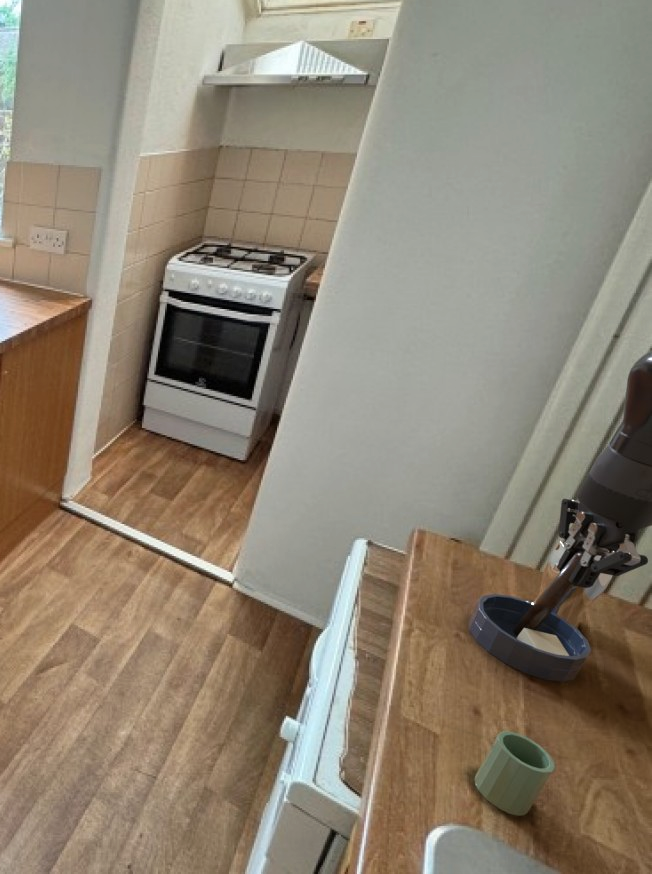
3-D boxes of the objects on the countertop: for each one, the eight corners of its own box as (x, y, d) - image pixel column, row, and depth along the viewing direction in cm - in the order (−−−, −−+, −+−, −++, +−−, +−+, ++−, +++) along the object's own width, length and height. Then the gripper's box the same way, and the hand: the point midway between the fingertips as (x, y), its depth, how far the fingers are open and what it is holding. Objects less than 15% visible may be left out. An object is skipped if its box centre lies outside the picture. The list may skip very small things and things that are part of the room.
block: (543, 651, 94) (556, 635, 93) (557, 674, 91) (571, 658, 89) (511, 643, 96) (523, 627, 94) (524, 666, 92) (537, 649, 90)
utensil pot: (512, 783, 77) (539, 738, 74) (536, 824, 73) (565, 778, 70) (465, 770, 79) (489, 725, 76) (485, 809, 74) (511, 764, 71)
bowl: (543, 630, 100) (557, 605, 98) (596, 696, 89) (613, 669, 87) (451, 610, 104) (463, 585, 102) (491, 671, 93) (505, 645, 90)
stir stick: (526, 635, 96) (596, 553, 87) (527, 644, 95) (599, 561, 85) (509, 628, 97) (577, 546, 88) (510, 637, 96) (579, 554, 86)
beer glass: (525, 597, 106) (560, 529, 101) (582, 621, 102) (621, 551, 96) (520, 617, 102) (555, 547, 97) (578, 644, 97) (620, 571, 92)
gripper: (709, 521, 75) (639, 621, 82) (628, 460, 87) (573, 552, 94) (631, 508, 77) (570, 607, 84) (563, 450, 89) (514, 541, 96)
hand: (572, 577), depth 89 cm, fingers closed on stir stick, 2 cm apart
